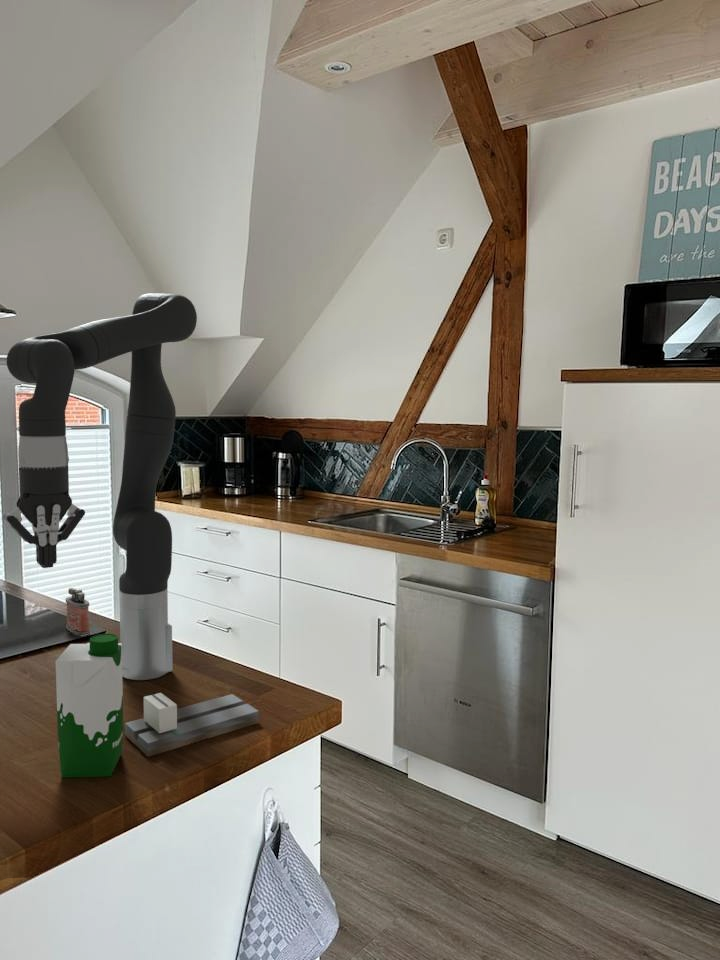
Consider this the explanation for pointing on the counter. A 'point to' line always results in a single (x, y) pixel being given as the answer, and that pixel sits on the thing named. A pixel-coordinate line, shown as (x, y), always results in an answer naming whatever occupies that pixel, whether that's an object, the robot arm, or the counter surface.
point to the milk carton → (90, 707)
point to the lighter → (77, 612)
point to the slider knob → (160, 712)
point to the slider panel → (193, 724)
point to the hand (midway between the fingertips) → (46, 566)
